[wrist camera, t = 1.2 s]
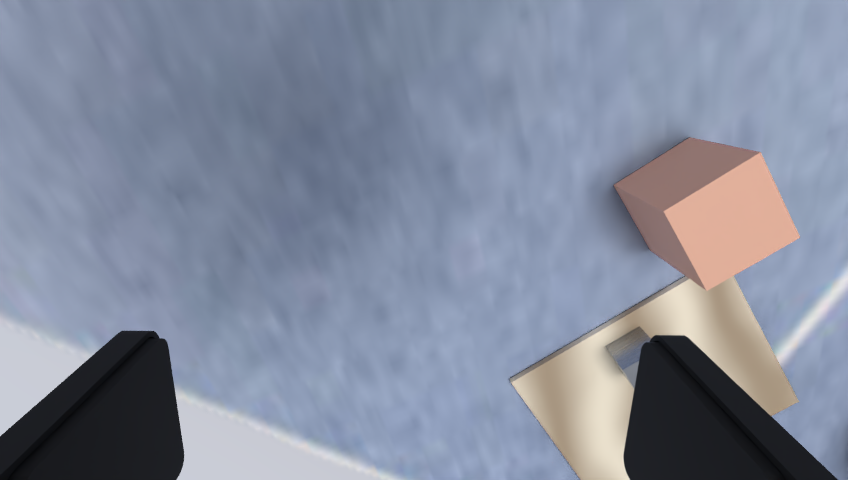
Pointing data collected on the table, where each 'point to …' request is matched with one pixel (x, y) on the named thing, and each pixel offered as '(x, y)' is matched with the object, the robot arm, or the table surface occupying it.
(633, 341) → the silver gray cube
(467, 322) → the table surface
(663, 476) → the robot arm
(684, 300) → the board
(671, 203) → the salmon pink toy brick
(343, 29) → the table surface
